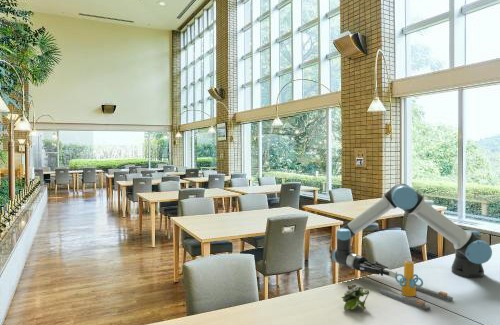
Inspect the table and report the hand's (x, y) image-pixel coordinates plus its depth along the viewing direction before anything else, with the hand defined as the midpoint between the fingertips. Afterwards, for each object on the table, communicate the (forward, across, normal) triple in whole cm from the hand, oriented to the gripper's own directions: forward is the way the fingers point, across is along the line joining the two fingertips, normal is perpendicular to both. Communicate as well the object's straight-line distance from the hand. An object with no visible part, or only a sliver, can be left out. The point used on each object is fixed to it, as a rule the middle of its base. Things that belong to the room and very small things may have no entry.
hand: (396, 275), depth 175 cm
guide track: (+10, -1, -7) cm, 13 cm away
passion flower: (+3, +30, -8) cm, 31 cm away
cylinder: (+6, -1, -8) cm, 10 cm away
